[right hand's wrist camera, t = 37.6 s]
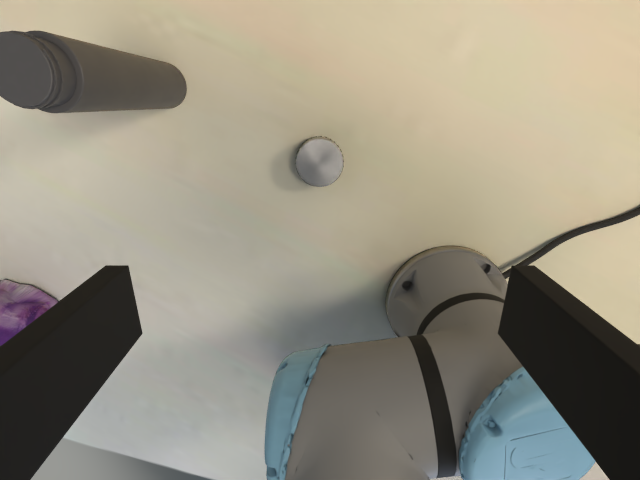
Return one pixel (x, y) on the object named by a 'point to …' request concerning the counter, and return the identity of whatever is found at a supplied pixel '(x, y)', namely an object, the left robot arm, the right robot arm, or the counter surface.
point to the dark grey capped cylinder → (82, 76)
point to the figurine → (20, 307)
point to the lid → (319, 161)
